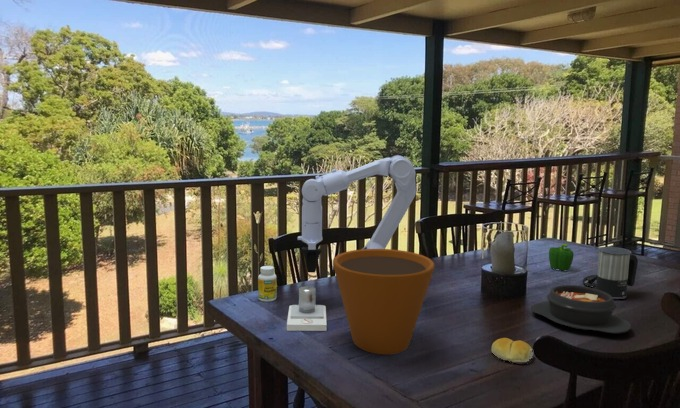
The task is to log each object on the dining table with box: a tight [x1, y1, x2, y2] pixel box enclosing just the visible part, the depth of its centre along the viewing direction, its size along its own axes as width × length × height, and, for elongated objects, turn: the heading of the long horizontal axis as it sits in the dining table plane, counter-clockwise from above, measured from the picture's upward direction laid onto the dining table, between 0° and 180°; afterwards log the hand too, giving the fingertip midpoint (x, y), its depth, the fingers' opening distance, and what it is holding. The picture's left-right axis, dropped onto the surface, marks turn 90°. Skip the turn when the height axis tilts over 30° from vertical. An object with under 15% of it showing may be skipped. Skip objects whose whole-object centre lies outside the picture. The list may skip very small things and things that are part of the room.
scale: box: [286, 304, 328, 332], centre depth 139 cm, size 10×14×2 cm
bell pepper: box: [548, 243, 574, 271], centre depth 193 cm, size 8×8×10 cm
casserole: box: [530, 284, 632, 335], centre depth 141 cm, size 25×19×8 cm
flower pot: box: [332, 248, 435, 355], centre depth 126 cm, size 24×24×20 cm
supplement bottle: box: [257, 265, 278, 303], centre depth 155 cm, size 5×5×10 cm
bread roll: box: [491, 337, 534, 362], centre depth 120 cm, size 8×9×4 cm
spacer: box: [298, 285, 317, 313], centre depth 140 cm, size 4×4×6 cm
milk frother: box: [582, 246, 638, 297], centre depth 168 cm, size 14×16×15 cm
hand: (311, 268), depth 151 cm, fingers open, 7 cm apart
